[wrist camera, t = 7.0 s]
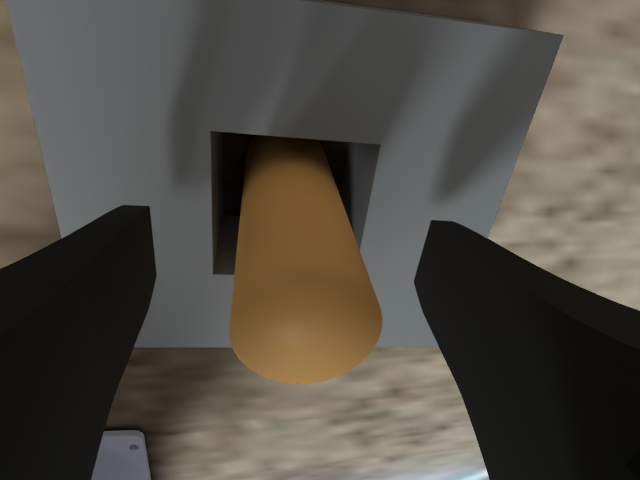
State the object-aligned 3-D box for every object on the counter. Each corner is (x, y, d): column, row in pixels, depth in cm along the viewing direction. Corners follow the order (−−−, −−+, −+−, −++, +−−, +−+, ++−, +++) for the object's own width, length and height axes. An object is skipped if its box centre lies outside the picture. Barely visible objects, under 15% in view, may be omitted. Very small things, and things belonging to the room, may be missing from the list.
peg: (319, 201, 17) (365, 383, 9) (243, 196, 16) (226, 383, 9) (330, 128, 15) (398, 272, 8) (247, 119, 15) (231, 265, 7)
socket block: (414, 284, 20) (446, 347, 16) (120, 277, 17) (87, 347, 14) (490, 22, 14) (563, 35, 11) (72, -34, 12) (-4, -40, 9)
